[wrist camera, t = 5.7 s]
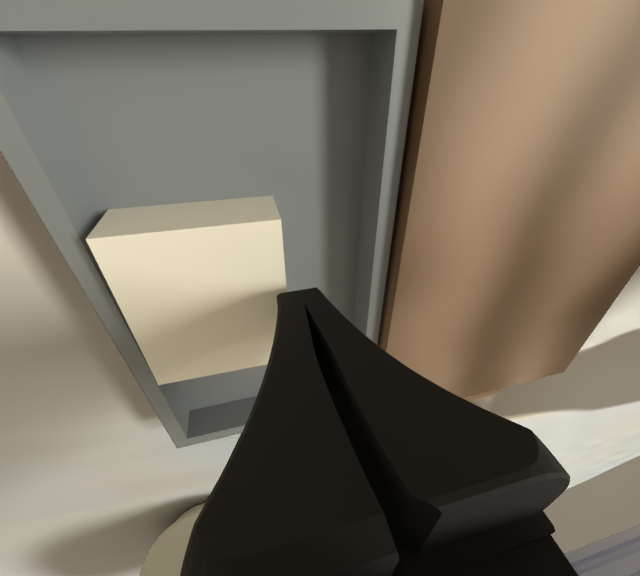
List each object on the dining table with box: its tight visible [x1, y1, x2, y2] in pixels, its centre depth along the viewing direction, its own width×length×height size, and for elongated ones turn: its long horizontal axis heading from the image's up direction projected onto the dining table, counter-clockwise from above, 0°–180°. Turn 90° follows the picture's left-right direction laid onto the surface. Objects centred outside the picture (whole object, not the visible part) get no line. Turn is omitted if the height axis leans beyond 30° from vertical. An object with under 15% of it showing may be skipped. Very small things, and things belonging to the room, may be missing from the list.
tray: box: [0, 0, 424, 448], centre depth 12 cm, size 10×16×2 cm, turn 1°
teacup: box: [140, 502, 206, 576], centre depth 22 cm, size 14×11×8 cm
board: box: [377, 0, 640, 398], centre depth 14 cm, size 12×18×2 cm
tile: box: [86, 195, 287, 385], centre depth 11 cm, size 5×6×2 cm
